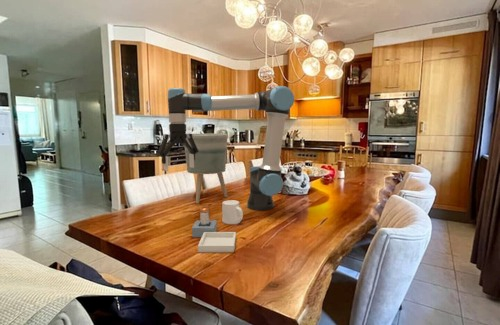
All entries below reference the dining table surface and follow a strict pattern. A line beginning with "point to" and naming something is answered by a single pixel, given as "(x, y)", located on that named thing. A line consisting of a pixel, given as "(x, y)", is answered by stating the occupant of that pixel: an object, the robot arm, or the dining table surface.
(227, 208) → the mug
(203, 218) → the spice jar
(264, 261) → the dining table surface
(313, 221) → the dining table surface
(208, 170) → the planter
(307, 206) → the dining table surface
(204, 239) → the tray
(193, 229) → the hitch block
